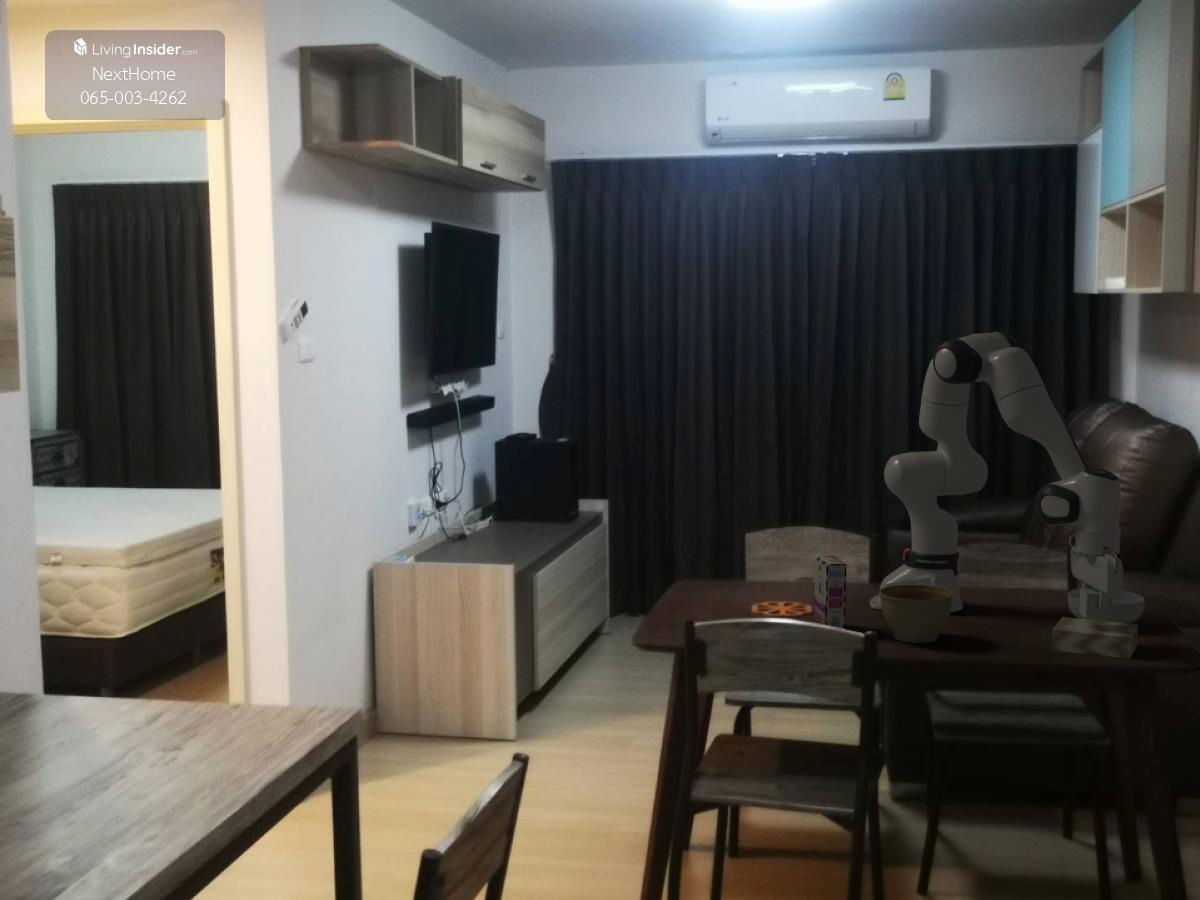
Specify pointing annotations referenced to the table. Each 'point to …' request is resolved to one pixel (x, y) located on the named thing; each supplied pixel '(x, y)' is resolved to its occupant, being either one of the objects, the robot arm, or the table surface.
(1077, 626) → the birch riser
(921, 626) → the planter bowl
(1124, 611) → the cereal bowl
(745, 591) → the table surface
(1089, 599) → the sage block
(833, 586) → the candy bar box
